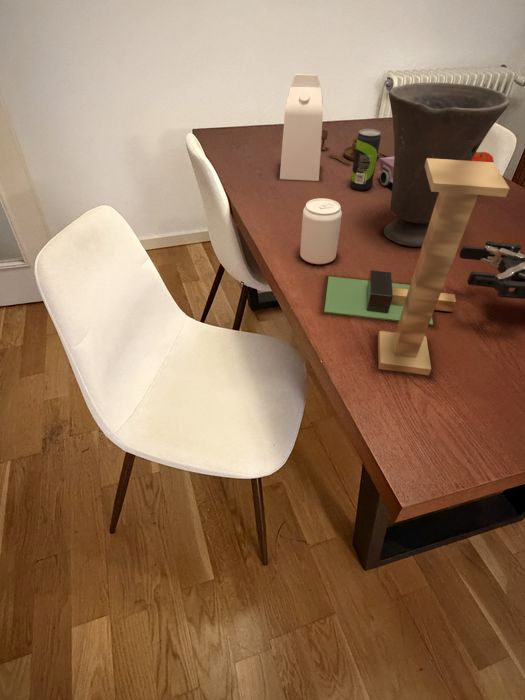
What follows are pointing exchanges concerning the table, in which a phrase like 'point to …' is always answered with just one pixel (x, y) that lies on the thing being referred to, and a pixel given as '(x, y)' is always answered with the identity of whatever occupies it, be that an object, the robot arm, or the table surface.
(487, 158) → the apple
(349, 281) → the felt mat
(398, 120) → the vase
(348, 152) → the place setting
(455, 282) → the table surface
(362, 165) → the beverage can
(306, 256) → the beverage can
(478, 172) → the stand
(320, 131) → the milk
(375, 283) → the mallet
